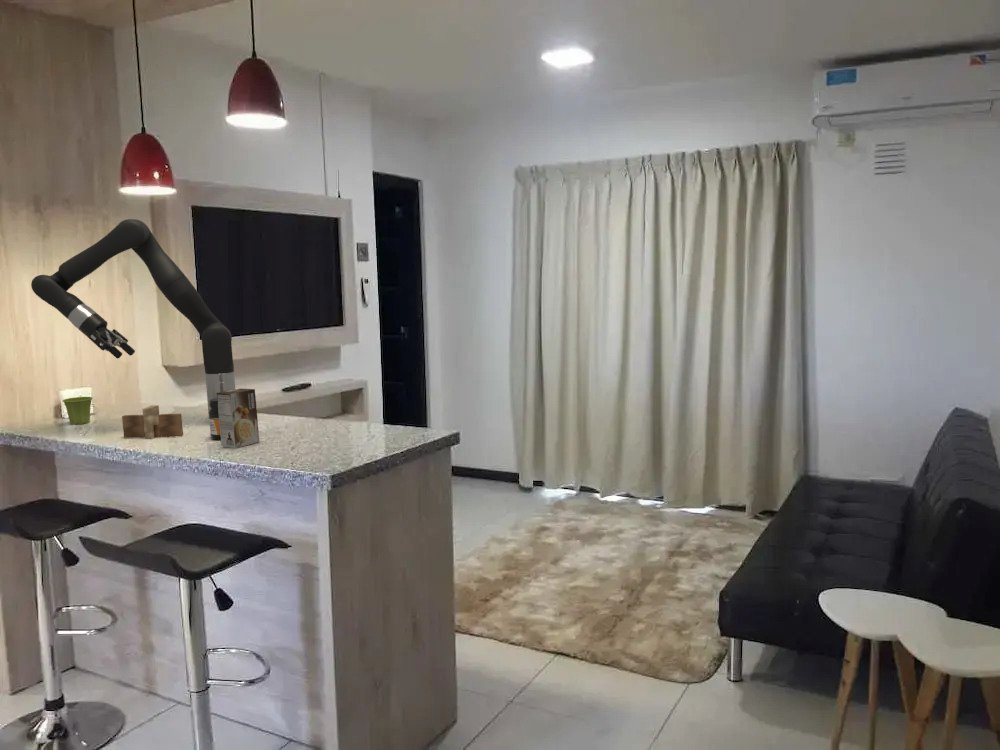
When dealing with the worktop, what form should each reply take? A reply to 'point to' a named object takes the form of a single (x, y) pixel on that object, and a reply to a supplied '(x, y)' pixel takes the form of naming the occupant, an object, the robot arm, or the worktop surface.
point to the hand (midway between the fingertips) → (126, 355)
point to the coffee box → (238, 417)
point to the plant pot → (78, 409)
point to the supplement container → (214, 419)
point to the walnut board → (166, 426)
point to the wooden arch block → (150, 420)
